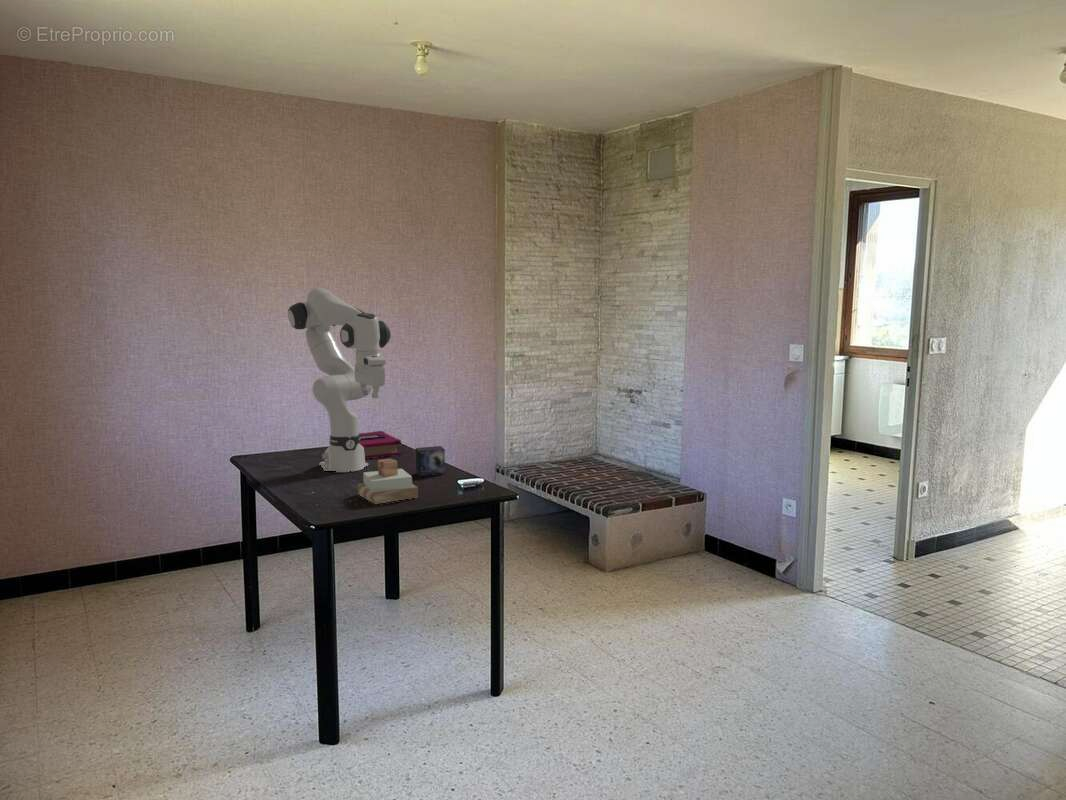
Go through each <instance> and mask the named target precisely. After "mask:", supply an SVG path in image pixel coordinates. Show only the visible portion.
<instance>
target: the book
mask: <svg viewBox="0 0 1066 800" xmlns="http://www.w3.org/2000/svg"><path fill="white" fill-rule="evenodd" d="M359 434H360V445H361V446H363V448H364V455H365V458H372V457H381V456H390V457H392V456H391V455H399V456H402V455H401V454H402V452H401V451H399V450H397V445H401V444H402V441H401V439H398V438H396V437H394V436H393V435H390V434H388V433H386V432H385V431H382V430H378V431H370V432H361V433H359ZM381 458H382V457H381Z"/></svg>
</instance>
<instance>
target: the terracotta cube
mask: <svg viewBox="0 0 1066 800" xmlns="http://www.w3.org/2000/svg"><path fill="white" fill-rule="evenodd" d="M398 469H399V468H398V461H397V460H396V459H393V458H391V457H390V458H386V459H379V460H377V471H378V474H379V475H381V476H384V477H388V476H393V475H398Z"/></svg>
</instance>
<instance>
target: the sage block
mask: <svg viewBox="0 0 1066 800" xmlns="http://www.w3.org/2000/svg"><path fill="white" fill-rule="evenodd" d="M362 474H363V483H364V484H365V485H366V486H367V487H368V489H369V490H370V491H371V492H372V493H374V492H382V491H391V490H399V489H408V488H412V484H413V476H412V475H411V474H409V473H408V472H407V471H405V470H404V469H403V468H398V475H393V476H388V477H384V476H381V475H379V474H378V470H375V471H366V472H362Z"/></svg>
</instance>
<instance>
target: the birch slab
mask: <svg viewBox="0 0 1066 800" xmlns="http://www.w3.org/2000/svg"><path fill="white" fill-rule="evenodd" d="M358 494H359V495H360V496H362V497H364V498H365V499H367V500H369V501H371V502H372V503H374V504H379V503H386V502H391V501H397V502H399V501H398V500H403V501H405V500H404V499H409V500H412V499H411V498H415V499H418V498H419V487H418V486H416V485H414V484H413V483H412V488H408V489H399V490H391V491H382V492H374V493H372V492H371V491H370V490H369V489H368V487H367V486H366V485H365V484H364V482H363V483H358V484H357V495H358ZM359 495H358V496H359ZM360 496H359V497H360ZM362 497H361V498H362ZM364 498H363V499H364ZM365 499H364V500H365ZM367 500H366V501H367ZM369 501H368V502H369ZM372 503H371V504H372ZM374 504H373V505H374ZM386 504H387V503H386Z"/></svg>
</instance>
